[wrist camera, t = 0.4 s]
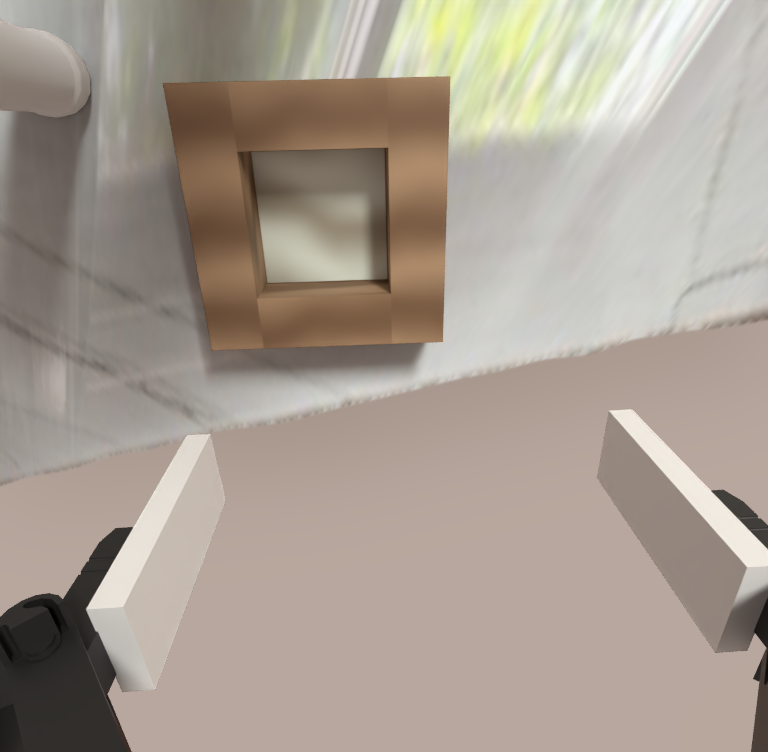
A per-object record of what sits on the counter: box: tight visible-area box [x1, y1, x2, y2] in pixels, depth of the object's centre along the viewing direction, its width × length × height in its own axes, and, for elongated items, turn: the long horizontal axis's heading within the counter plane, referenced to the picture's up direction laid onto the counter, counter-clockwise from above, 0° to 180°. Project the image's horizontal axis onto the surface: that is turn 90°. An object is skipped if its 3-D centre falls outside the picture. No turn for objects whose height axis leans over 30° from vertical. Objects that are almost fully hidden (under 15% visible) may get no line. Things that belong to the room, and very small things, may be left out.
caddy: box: [163, 77, 450, 350], centre depth 38 cm, size 18×18×5 cm
